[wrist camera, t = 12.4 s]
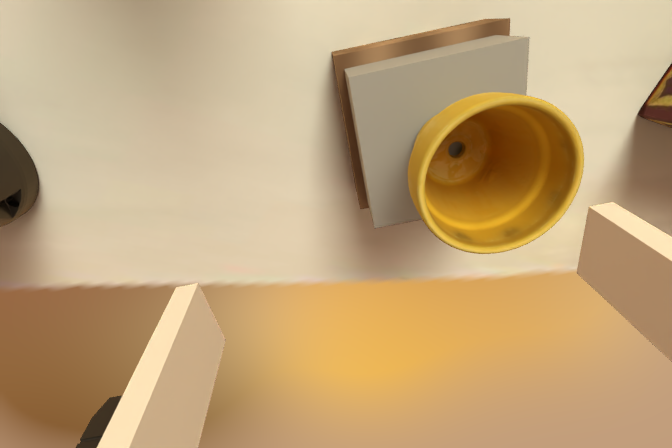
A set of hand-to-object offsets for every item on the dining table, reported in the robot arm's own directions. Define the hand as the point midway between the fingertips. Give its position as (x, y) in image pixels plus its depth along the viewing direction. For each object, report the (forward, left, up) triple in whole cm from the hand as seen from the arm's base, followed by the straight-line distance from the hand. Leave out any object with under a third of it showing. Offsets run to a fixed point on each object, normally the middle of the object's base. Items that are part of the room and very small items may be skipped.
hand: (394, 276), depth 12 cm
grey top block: (+8, -3, -26) cm, 28 cm away
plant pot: (+8, -3, -20) cm, 22 cm away
